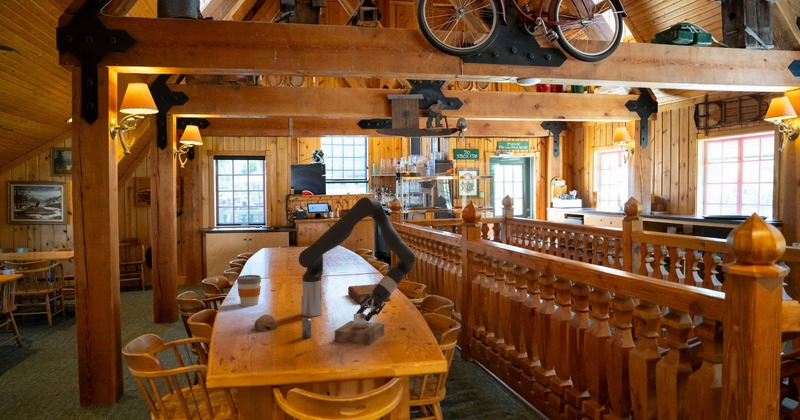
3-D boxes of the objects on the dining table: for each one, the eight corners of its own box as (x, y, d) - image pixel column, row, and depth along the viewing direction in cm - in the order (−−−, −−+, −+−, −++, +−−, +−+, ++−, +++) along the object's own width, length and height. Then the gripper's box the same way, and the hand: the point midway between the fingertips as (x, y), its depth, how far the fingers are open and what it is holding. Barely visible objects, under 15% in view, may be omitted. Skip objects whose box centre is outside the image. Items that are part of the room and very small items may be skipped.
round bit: (300, 338, 221) (300, 319, 220) (303, 335, 225) (304, 317, 224) (309, 339, 220) (309, 320, 220) (312, 336, 224) (312, 317, 224)
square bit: (353, 337, 223) (353, 314, 222) (362, 335, 225) (361, 312, 224) (358, 339, 219) (357, 316, 219) (366, 337, 221) (366, 314, 221)
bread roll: (256, 339, 232) (257, 325, 229) (251, 324, 240) (252, 310, 237) (278, 336, 237) (279, 322, 233) (273, 321, 245) (274, 308, 241)
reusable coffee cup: (257, 307, 275) (257, 279, 274) (234, 307, 276) (233, 279, 275) (264, 301, 288) (263, 274, 287) (241, 301, 288) (241, 274, 287)
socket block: (334, 341, 217) (334, 330, 217) (350, 330, 232) (350, 320, 232) (370, 345, 212) (370, 334, 211) (384, 333, 227) (384, 323, 226)
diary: (348, 296, 303) (348, 286, 303) (378, 293, 309) (378, 284, 309) (358, 304, 281) (358, 294, 281) (391, 301, 288) (391, 291, 287)
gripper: (371, 280, 231) (348, 309, 226) (387, 286, 219) (363, 316, 214) (382, 290, 234) (359, 319, 229) (398, 297, 222) (374, 327, 217)
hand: (361, 318), depth 222 cm, fingers open, 8 cm apart
